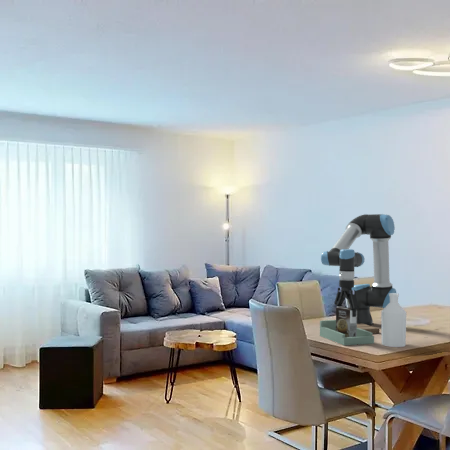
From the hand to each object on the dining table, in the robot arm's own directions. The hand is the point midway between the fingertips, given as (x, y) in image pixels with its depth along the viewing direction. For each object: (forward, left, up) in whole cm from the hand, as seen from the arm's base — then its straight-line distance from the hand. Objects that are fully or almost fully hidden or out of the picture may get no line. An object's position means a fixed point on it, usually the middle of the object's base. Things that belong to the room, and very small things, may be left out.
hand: (346, 321), depth 302 cm
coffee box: (0, 0, -10) cm, 10 cm away
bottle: (+17, +17, -10) cm, 26 cm away
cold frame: (0, 0, -9) cm, 9 cm away
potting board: (-18, +18, -9) cm, 27 cm away
